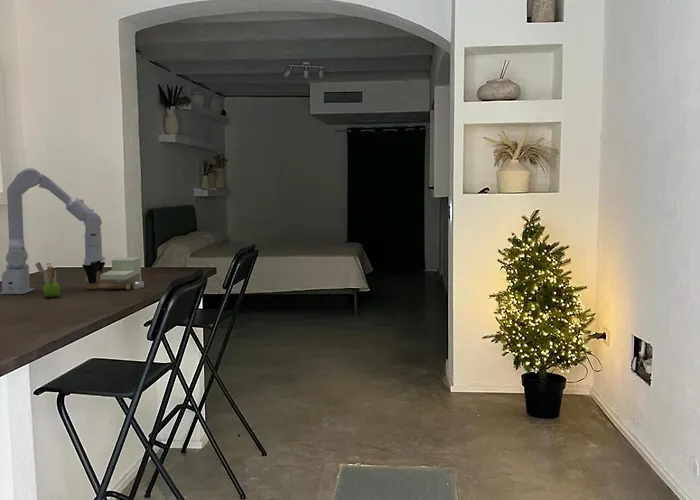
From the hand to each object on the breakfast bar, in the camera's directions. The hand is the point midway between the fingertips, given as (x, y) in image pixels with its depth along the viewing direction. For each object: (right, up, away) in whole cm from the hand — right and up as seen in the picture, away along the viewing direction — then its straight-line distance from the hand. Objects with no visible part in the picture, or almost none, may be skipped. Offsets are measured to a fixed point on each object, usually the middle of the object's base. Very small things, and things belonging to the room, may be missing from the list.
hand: (94, 282), depth 235 cm
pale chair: (+9, -2, +3) cm, 10 cm away
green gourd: (-6, -4, -20) cm, 21 cm away
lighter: (-24, -1, +13) cm, 27 cm away
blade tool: (+6, -2, 0) cm, 6 cm away
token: (+16, -2, +1) cm, 16 cm away
